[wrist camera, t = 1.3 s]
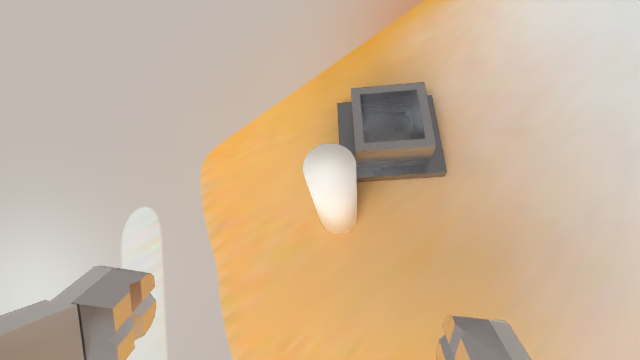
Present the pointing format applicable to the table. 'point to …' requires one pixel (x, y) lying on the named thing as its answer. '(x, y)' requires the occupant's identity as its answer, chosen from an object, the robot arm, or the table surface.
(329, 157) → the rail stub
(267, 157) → the table surface
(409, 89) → the cup bracket
